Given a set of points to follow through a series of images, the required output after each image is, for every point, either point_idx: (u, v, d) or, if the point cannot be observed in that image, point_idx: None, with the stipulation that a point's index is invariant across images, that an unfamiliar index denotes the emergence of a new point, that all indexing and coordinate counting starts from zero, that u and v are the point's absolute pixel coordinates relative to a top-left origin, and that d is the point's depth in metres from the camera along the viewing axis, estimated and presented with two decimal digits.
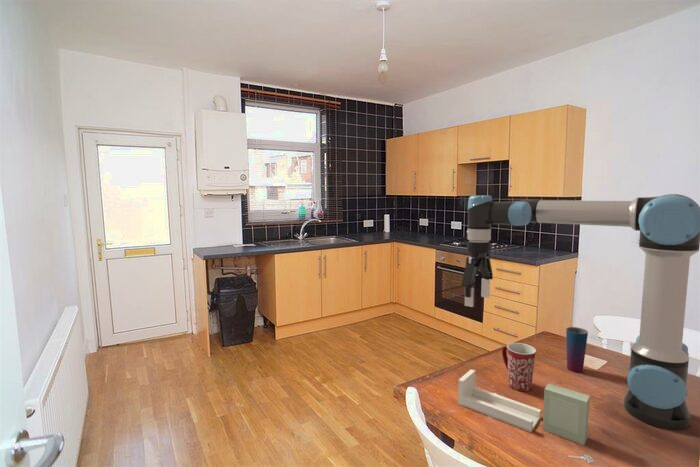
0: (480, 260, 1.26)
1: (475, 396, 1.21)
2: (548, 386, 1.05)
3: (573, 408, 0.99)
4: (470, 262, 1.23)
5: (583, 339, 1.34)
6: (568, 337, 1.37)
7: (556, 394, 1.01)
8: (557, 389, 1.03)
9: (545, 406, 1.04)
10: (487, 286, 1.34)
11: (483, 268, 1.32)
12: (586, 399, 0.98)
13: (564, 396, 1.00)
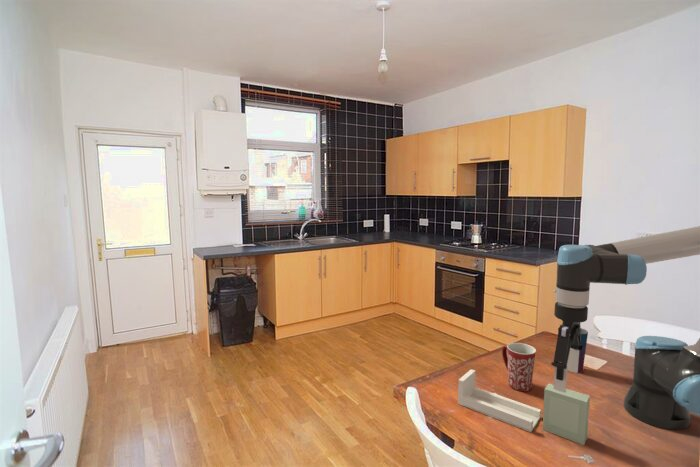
0: (574, 330, 0.97)
1: (475, 396, 1.21)
2: (548, 386, 1.05)
3: (573, 408, 0.99)
4: (564, 335, 0.94)
5: (583, 339, 1.34)
6: None
7: (556, 394, 1.01)
8: None
9: (545, 406, 1.04)
10: (576, 358, 1.05)
11: None
12: (586, 399, 0.98)
13: (564, 396, 1.00)
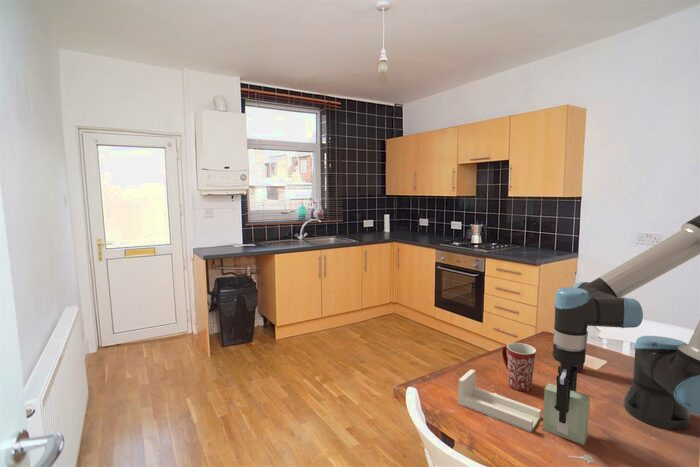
0: (572, 374, 0.98)
1: (475, 396, 1.21)
2: (548, 386, 1.05)
3: (573, 407, 0.99)
4: (563, 384, 0.96)
5: None
6: None
7: None
8: None
9: (545, 406, 1.04)
10: None
11: (570, 382, 1.02)
12: (586, 399, 0.98)
13: None
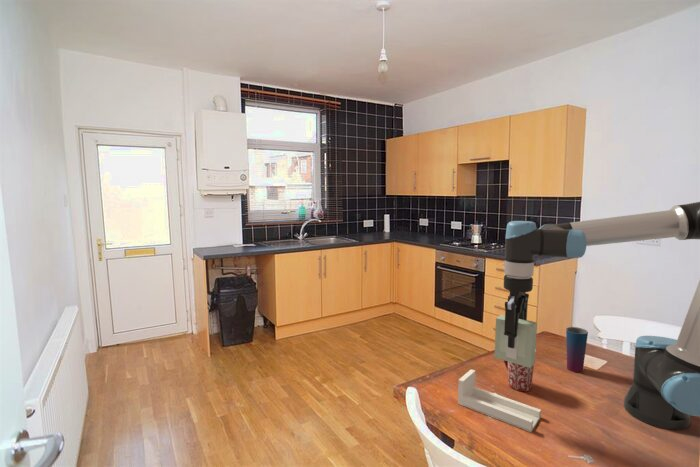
0: (520, 301, 1.04)
1: (475, 396, 1.21)
2: (500, 316, 1.11)
3: (521, 333, 1.05)
4: (510, 309, 1.02)
5: (583, 339, 1.34)
6: (568, 337, 1.37)
7: None
8: None
9: (496, 334, 1.10)
10: None
11: None
12: (533, 324, 1.04)
13: None
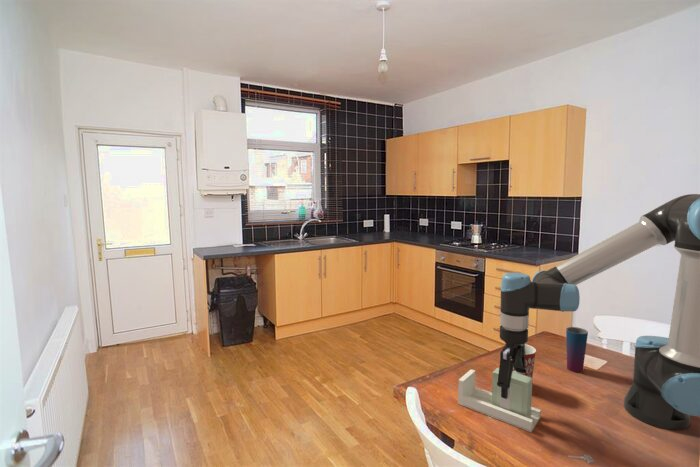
0: (516, 351, 1.06)
1: (475, 396, 1.21)
2: (496, 370, 1.13)
3: (517, 389, 1.07)
4: (505, 358, 1.04)
5: (583, 339, 1.34)
6: (568, 337, 1.37)
7: None
8: None
9: (493, 388, 1.12)
10: None
11: (517, 358, 1.11)
12: (528, 381, 1.06)
13: None
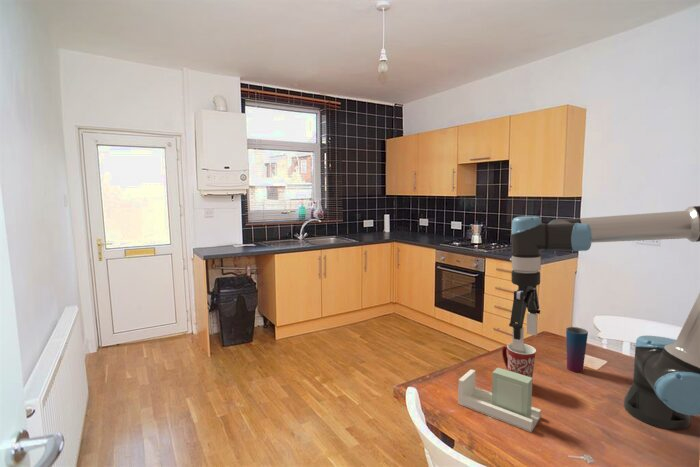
0: (529, 294, 1.06)
1: (475, 396, 1.21)
2: (496, 370, 1.13)
3: (517, 389, 1.07)
4: (519, 297, 1.03)
5: (583, 339, 1.34)
6: (568, 337, 1.37)
7: (502, 377, 1.10)
8: (504, 372, 1.11)
9: (493, 388, 1.12)
10: (534, 322, 1.14)
11: (530, 301, 1.11)
12: (528, 381, 1.06)
13: (509, 378, 1.09)
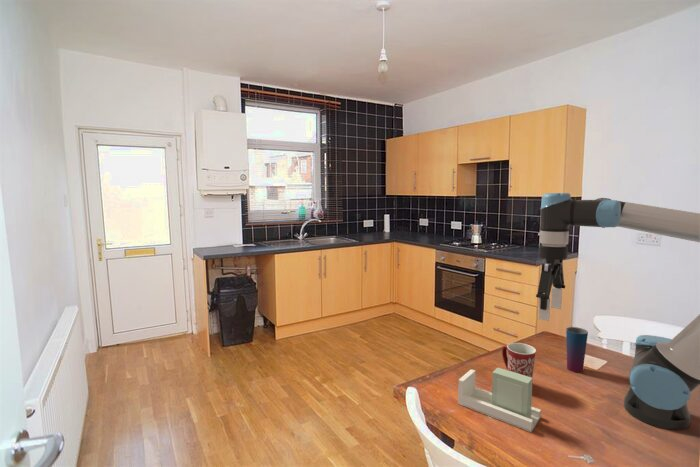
0: (556, 267, 1.10)
1: (475, 396, 1.21)
2: (496, 370, 1.13)
3: (517, 389, 1.07)
4: (547, 269, 1.07)
5: (583, 339, 1.34)
6: (568, 337, 1.37)
7: (502, 377, 1.10)
8: (504, 372, 1.11)
9: (493, 388, 1.12)
10: (559, 296, 1.18)
11: (556, 276, 1.16)
12: (528, 381, 1.06)
13: (509, 378, 1.09)
